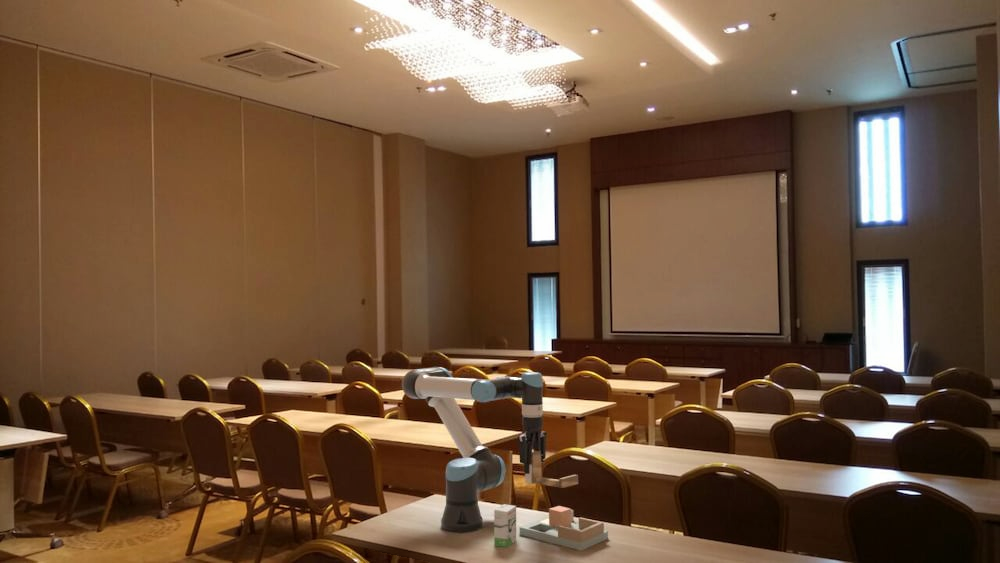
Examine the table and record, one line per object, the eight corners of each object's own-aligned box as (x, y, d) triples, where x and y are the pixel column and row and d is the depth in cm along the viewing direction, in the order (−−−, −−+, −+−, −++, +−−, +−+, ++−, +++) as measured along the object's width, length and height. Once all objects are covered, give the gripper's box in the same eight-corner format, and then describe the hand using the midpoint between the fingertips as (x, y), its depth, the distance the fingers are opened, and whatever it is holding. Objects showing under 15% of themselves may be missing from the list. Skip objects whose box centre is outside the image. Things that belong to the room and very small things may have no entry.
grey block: (558, 521, 268) (558, 510, 268) (564, 518, 271) (564, 508, 271) (567, 523, 266) (567, 512, 266) (573, 520, 269) (573, 510, 269)
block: (549, 524, 255) (549, 508, 256) (559, 521, 259) (559, 505, 260) (561, 527, 252) (561, 511, 252) (571, 524, 256) (571, 508, 256)
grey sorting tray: (519, 534, 253) (519, 517, 253) (547, 523, 265) (547, 507, 265) (581, 550, 236) (581, 532, 236) (608, 538, 248) (607, 520, 248)
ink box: (507, 547, 239) (507, 511, 239) (493, 545, 241) (493, 510, 241) (516, 540, 247) (516, 505, 247) (503, 538, 249) (503, 503, 249)
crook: (524, 482, 261) (522, 451, 261) (541, 477, 267) (540, 447, 268) (561, 488, 248) (559, 455, 249) (578, 483, 254) (576, 452, 255)
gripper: (524, 419, 252) (525, 487, 251) (555, 414, 265) (556, 478, 264) (508, 417, 257) (509, 483, 257) (539, 412, 270) (540, 475, 269)
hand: (532, 481), depth 260 cm, fingers closed on crook, 4 cm apart
